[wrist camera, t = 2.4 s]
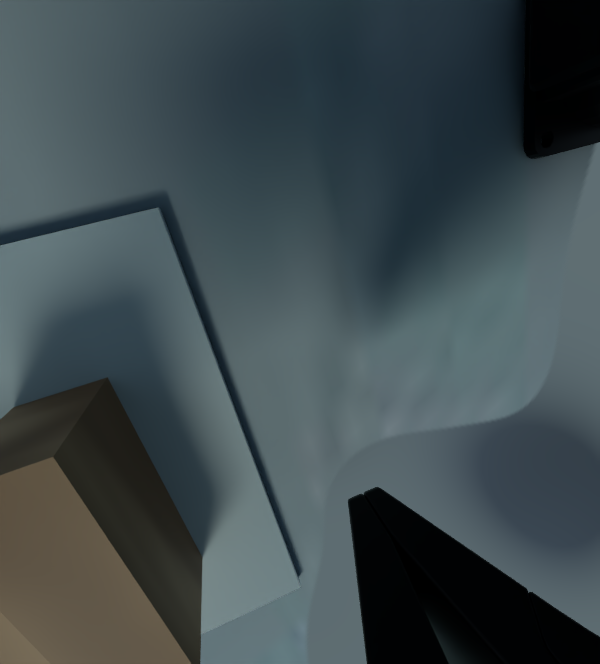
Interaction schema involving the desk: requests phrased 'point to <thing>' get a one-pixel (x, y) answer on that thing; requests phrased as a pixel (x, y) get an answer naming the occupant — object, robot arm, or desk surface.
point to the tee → (91, 540)
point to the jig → (146, 387)
